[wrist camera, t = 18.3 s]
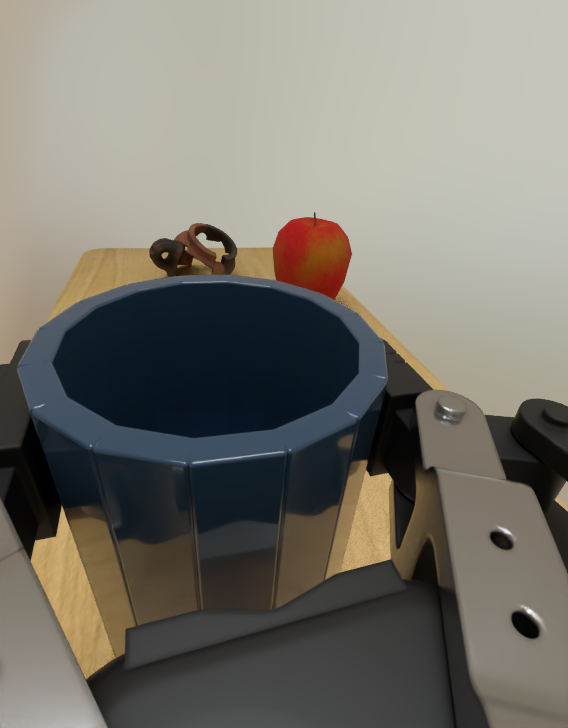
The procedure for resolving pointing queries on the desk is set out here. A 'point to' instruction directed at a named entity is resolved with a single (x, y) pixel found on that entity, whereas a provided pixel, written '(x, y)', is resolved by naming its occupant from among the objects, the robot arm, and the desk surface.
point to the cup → (205, 440)
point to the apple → (312, 255)
